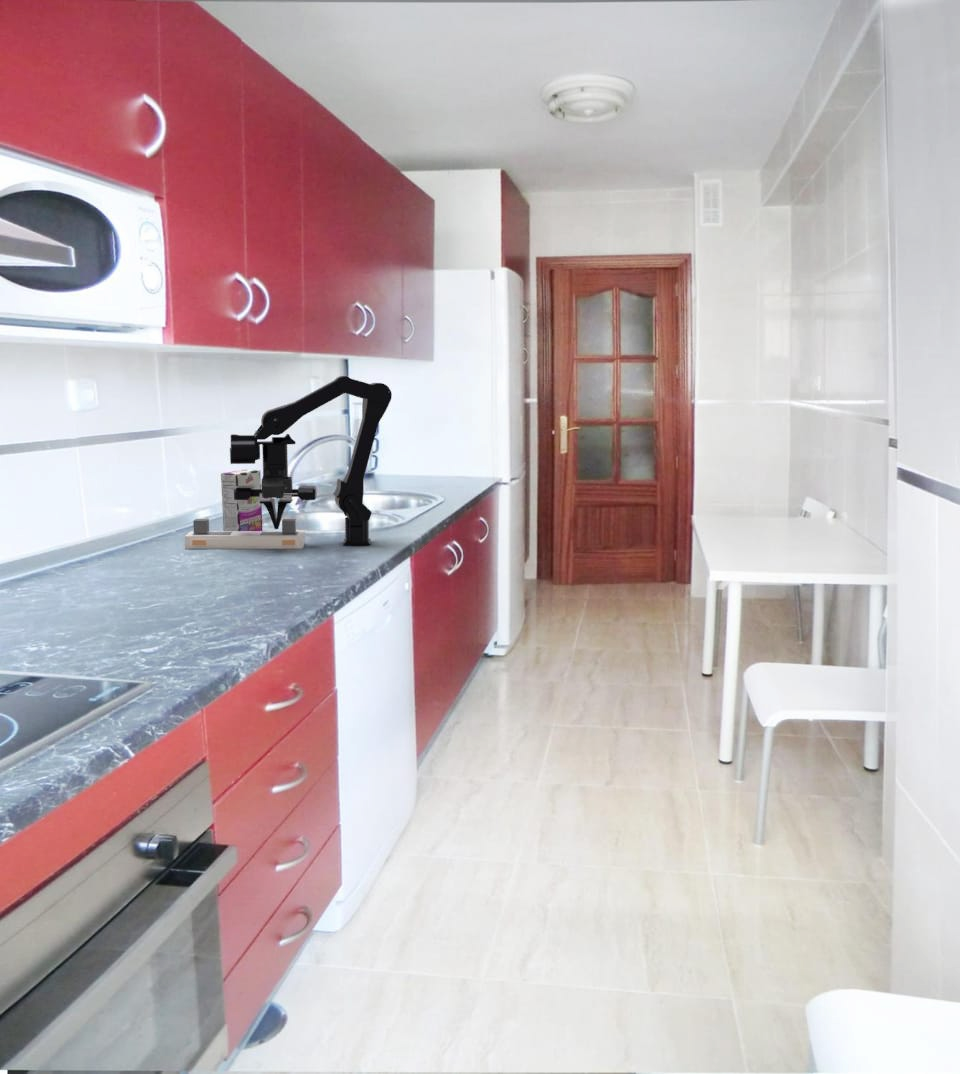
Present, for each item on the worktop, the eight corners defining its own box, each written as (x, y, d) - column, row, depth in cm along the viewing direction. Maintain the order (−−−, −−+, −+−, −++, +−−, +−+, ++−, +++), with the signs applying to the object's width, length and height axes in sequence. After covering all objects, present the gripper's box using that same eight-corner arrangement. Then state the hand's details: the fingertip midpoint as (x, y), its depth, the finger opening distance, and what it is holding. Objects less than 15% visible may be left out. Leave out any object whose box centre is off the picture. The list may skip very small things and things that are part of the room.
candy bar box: (246, 531, 242) (244, 468, 239) (263, 532, 240) (261, 469, 237) (221, 538, 231) (219, 472, 228) (239, 539, 230) (237, 473, 227)
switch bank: (191, 543, 223) (190, 530, 222) (305, 543, 226) (305, 530, 225) (184, 549, 215) (184, 535, 215) (302, 548, 218) (302, 535, 218)
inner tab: (283, 531, 223) (283, 518, 222) (296, 531, 223) (296, 518, 222) (282, 533, 220) (282, 520, 219) (295, 533, 220) (294, 520, 219)
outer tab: (196, 531, 220) (195, 518, 220) (209, 531, 221) (208, 518, 220) (193, 533, 217) (193, 520, 217) (206, 533, 218) (206, 520, 217)
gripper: (229, 466, 209) (231, 534, 212) (313, 466, 211) (314, 534, 214) (236, 462, 220) (238, 527, 223) (316, 462, 222) (317, 526, 225)
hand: (276, 528), depth 221 cm, fingers closed
